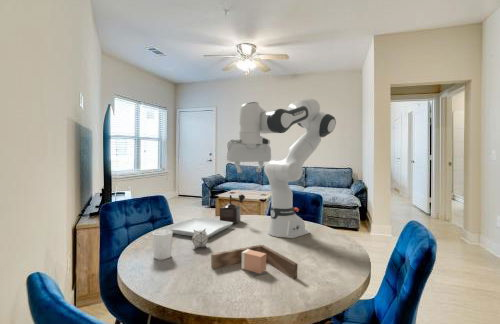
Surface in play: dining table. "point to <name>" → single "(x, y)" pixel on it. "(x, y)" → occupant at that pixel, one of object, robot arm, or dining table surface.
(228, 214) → the dark brown coffee grinder
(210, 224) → the square plate
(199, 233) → the game die
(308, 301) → the dining table surface
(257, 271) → the block
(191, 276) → the dining table surface
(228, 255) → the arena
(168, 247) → the white cup
